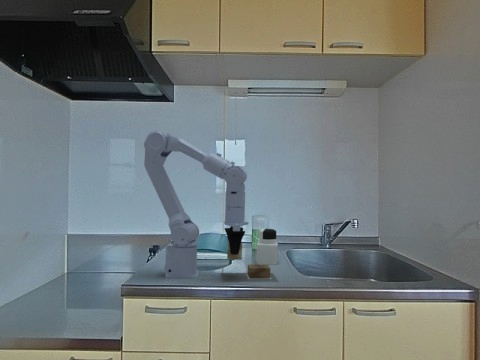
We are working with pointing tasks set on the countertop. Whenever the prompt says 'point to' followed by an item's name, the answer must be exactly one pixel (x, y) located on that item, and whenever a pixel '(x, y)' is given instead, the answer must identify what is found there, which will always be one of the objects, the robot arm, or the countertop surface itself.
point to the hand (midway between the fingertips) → (233, 253)
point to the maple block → (234, 257)
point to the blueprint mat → (245, 278)
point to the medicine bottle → (267, 247)
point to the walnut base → (258, 271)
